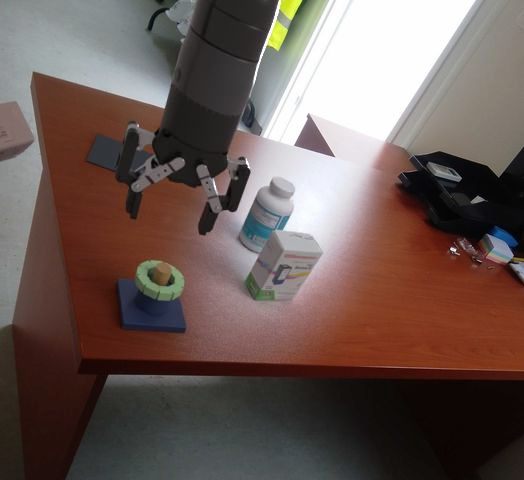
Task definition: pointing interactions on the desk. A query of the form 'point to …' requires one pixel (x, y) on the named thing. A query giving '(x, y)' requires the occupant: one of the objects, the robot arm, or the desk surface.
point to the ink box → (283, 265)
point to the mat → (113, 154)
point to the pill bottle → (268, 213)
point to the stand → (150, 305)
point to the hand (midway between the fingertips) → (167, 223)
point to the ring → (154, 289)
